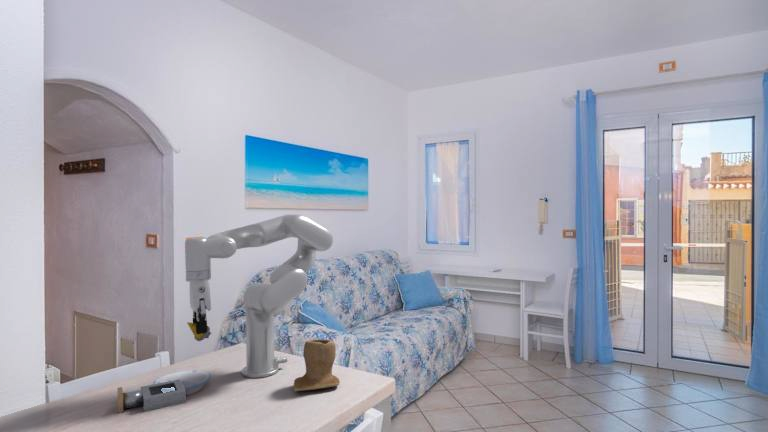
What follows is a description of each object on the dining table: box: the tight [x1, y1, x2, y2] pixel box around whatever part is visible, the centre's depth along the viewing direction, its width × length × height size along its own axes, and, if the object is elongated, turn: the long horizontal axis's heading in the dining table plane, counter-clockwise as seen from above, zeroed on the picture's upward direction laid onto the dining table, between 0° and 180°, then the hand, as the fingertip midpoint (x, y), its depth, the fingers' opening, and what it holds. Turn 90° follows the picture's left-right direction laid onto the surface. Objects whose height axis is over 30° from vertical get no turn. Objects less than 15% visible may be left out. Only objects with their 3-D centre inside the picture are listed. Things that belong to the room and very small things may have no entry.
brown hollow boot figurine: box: [293, 338, 341, 392], centre depth 142 cm, size 15×12×15 cm
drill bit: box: [186, 322, 212, 342], centre depth 141 cm, size 5×5×10 cm
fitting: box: [116, 378, 187, 414], centre depth 130 cm, size 17×11×6 cm, turn 123°
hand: (199, 330), depth 141 cm, fingers closed on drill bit, 5 cm apart
